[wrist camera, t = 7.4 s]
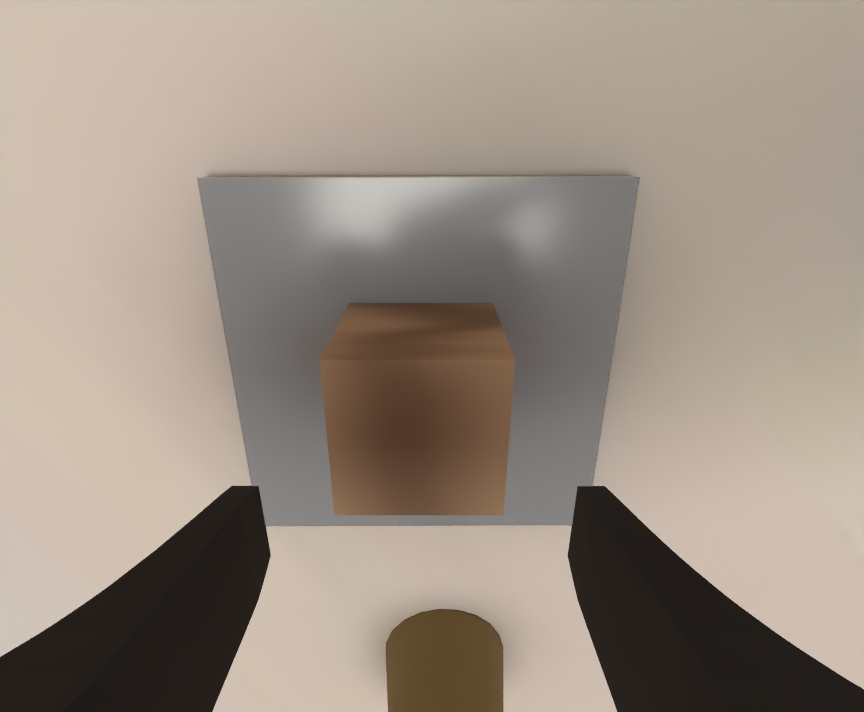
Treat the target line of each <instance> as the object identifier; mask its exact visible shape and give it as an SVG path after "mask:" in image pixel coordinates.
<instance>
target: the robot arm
mask: <svg viewBox="0 0 864 712" xmlns="http://www.w3.org/2000/svg"><path fill="white" fill-rule="evenodd" d="M270 556H271V555H270V549H269V543H268V537H267V531H266V525H265V520H264V514H263V508H262V502H261V496H260V491H259V486H231V487H230V488H229V489H228V490H226V491H225V492H224V493H223V494H221V495H220V496H219V497H218V498H217V499H216V500H214V501H213V502H212V503H211V504H210V505H209V506H207V507H206V508H205V509H204V510H203V511H202V512H200V513H199V514H198V515H197V516H196V517H195V518H193V519H192V520H191V521H190V522H189V523H188V524H186V525H185V526H184V527H183V528H182V529H180V530H179V531H178V532H177V533H176V534H175V535H173V536H172V537H171V538H170V539H169V540H167V541H166V542H165V543H164V544H163V545H161V546H160V547H159V548H158V549H157V550H155V551H154V552H153V553H151V554H150V555H149V556H148V557H146V558H145V559H144V560H142V561H141V562H140V563H139V564H137V565H136V566H135V567H133V568H132V569H131V570H129V571H128V572H127V573H126V574H124V575H123V576H122V577H120V578H119V579H118V580H117V581H115V582H114V583H113V584H111V585H110V586H109V587H107V588H106V589H105V590H103V591H102V592H100V593H99V594H98V595H96V596H95V597H93V598H92V599H91V600H89V601H88V602H86V603H85V604H83V605H82V606H81V607H79V608H78V609H76V610H75V611H73V612H72V613H70V614H69V615H67V616H66V617H64V618H63V619H61V620H60V621H58V622H57V623H55V624H54V625H52V626H51V627H49V628H47V629H46V630H44V631H43V632H41V633H40V634H38V635H36V636H35V637H33V638H31V639H30V640H28V641H26V642H25V643H23V644H21V645H20V646H18V647H16V648H15V649H13V650H11V651H10V652H8V653H6V654H5V655H3V656H1V657H0V712H212V711H213V708H214V706H215V703H216V701H217V699H218V696H219V694H220V691H221V689H222V687H223V684H224V682H225V679H226V677H227V675H228V672H229V670H230V667H231V665H232V663H233V660H234V658H235V655H236V653H237V651H238V648H239V646H240V643H241V641H242V639H243V636H244V634H245V631H246V629H247V626H248V624H249V621H250V619H251V617H252V614H253V612H254V609H255V607H256V604H257V602H258V599H259V595H260V592H261V589H262V585H263V582H264V578H265V575H266V571H267V567H268V563H269V559H270ZM568 559H569V563H570V568H571V572H572V577H573V581H574V586H575V590H576V594H577V598H578V602H579V605H580V608H581V610H582V613H583V616H584V619H585V622H586V625H587V628H588V630H589V633H590V636H591V639H592V642H593V645H594V647H595V650H596V653H597V656H598V659H599V661H600V664H601V667H602V670H603V672H604V675H605V678H606V681H607V684H608V686H609V689H610V692H611V695H612V698H613V700H614V703H615V706H616V709H617V712H864V689H862V688H860V687H859V686H857V685H855V684H854V683H852V682H850V681H849V680H847V679H845V678H844V677H842V676H840V675H839V674H837V673H836V672H834V671H833V670H831V669H830V668H828V667H826V666H825V665H823V664H822V663H820V662H819V661H817V660H816V659H814V658H813V657H811V656H809V655H808V654H806V653H805V652H803V651H802V650H800V649H799V648H797V647H796V646H794V645H793V644H791V643H790V642H788V641H787V640H785V639H784V638H782V637H781V636H780V635H778V634H777V633H775V632H774V631H772V630H771V629H770V628H768V627H767V626H766V625H764V624H763V623H761V622H760V621H759V620H757V619H756V618H755V617H753V616H752V615H751V614H749V613H748V612H746V611H745V610H744V609H742V608H741V607H740V606H738V605H737V604H736V603H734V602H733V601H732V600H731V599H729V598H728V597H727V596H725V595H724V594H723V593H722V592H720V591H719V590H718V589H717V588H716V587H714V586H713V585H712V584H711V583H709V582H708V581H707V580H706V579H705V578H703V577H702V576H701V575H700V574H699V573H697V572H696V571H695V570H694V569H693V568H691V567H690V566H689V565H688V564H687V563H686V562H685V561H683V560H682V559H681V558H680V557H679V556H678V555H677V554H676V553H674V552H673V551H672V550H671V549H670V548H669V547H668V546H667V545H666V544H665V543H663V542H662V541H661V540H660V539H659V538H658V537H657V536H656V535H655V534H654V533H653V532H652V531H651V530H650V529H648V528H647V527H646V526H645V525H644V524H643V523H642V522H641V521H640V520H639V519H638V518H637V517H636V516H635V515H634V514H633V513H632V512H631V511H630V510H629V509H628V508H627V507H626V506H625V505H624V504H623V503H622V502H621V501H620V500H619V499H618V498H617V497H615V496H614V495H613V494H612V493H611V492H610V491H609V490H608V489H607V488H606V487H605V486H577V494H576V501H575V508H574V515H573V522H572V529H571V537H570V544H569V551H568Z"/></svg>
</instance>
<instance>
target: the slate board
mask: <svg viewBox="0 0 864 712" xmlns="http://www.w3.org/2000/svg"><path fill="white" fill-rule="evenodd" d="M639 179H640V177H636V176H301V177H202V178H197V180H198V186H199V191H200V197H201V203H202V208H203V214H204V219H205V225H206V231H207V236H208V242H209V248H210V253H211V259H212V265H213V270H214V276H215V281H216V287H217V293H218V298H219V304H220V310H221V315H222V321H223V327H224V332H225V338H226V343H227V349H228V355H229V360H230V366H231V372H232V377H233V383H234V389H235V394H236V400H237V405H238V411H239V417H240V422H241V428H242V434H243V439H244V445H245V451H246V456H247V462H248V467H249V473H250V479H251V484H252V486H259V491H260V496H261V502H262V508H263V514H264V520H265V525H266V526H452V525H572V522H573V515H574V508H575V501H576V494H577V486H593V480H594V473H595V467H596V460H597V454H598V447H599V441H600V434H601V428H602V421H603V414H604V408H605V401H606V395H607V388H608V382H609V375H610V369H611V362H612V356H613V349H614V342H615V336H616V329H617V323H618V316H619V310H620V303H621V297H622V290H623V284H624V277H625V271H626V264H627V257H628V251H629V244H630V238H631V231H632V225H633V218H634V212H635V205H636V199H637V192H638V185H639ZM349 303H493V305H494V308H495V310H496V313H497V315H498V318H499V320H500V323H501V325H502V328H503V330H504V333H505V335H506V338H507V340H508V343H509V345H510V348H511V350H512V353H513V355H514V358H515V371H514V384H513V398H512V411H511V425H510V438H509V452H508V465H507V479H506V492H505V506H504V515H334V507H333V496H332V486H331V475H330V465H329V454H328V443H327V433H326V422H325V412H324V401H323V391H322V380H321V370H320V358H321V356H322V354H323V352H324V350H325V348H326V346H327V345H328V343H329V341H330V339H331V337H332V335H333V333H334V331H335V329H336V327H337V325H338V324H339V322H340V320H341V318H342V316H343V314H344V312H345V310H346V308H347V306H348V304H349Z"/></svg>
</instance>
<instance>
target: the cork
mask: <svg viewBox="0 0 864 712" xmlns="http://www.w3.org/2000/svg"><path fill="white" fill-rule="evenodd" d="M386 671H387V694H388V712H503V646H502V642H501V639H500V636H499V634H498V633H497V632H496V631H495V630H494V628H493V627H492V626H491V625H490V624H489V623H487V622H486V621H484V620H482V619H481V618H479V617H477V616H475V615H472V614H469V613H465V612H462V611H458V610H434V611H429V612H423V613H419V614H417V615H415V616H413V617H411V618H408V619H406V620H404V621H403V622H402V623H401V624H400V625H399V626H397V627H396V628H395V629H394V630H393V631H392V633H391V635H390V637H389V639H388V641H387V643H386Z"/></svg>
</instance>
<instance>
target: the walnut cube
mask: <svg viewBox="0 0 864 712" xmlns="http://www.w3.org/2000/svg"><path fill="white" fill-rule="evenodd" d="M320 370H321V380H322V391H323V401H324V412H325V422H326V433H327V443H328V454H329V465H330V475H331V486H332V496H333V507H334V515H504V506H505V492H506V479H507V465H508V452H509V438H510V425H511V411H512V398H513V384H514V371H515V358H514V355H513V353H512V350H511V348H510V345H509V343H508V340H507V338H506V335H505V333H504V330H503V328H502V325H501V323H500V320H499V318H498V315H497V313H496V310H495V308H494V305H493V303H349V304H348V306H347V308H346V310H345V312H344V314H343V316H342V318H341V320H340V322H339V324H338V325H337V327H336V329H335V331H334V333H333V335H332V337H331V339H330V341H329V343H328V345H327V346H326V348H325V350H324V352H323V354H322V356H321V358H320Z"/></svg>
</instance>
